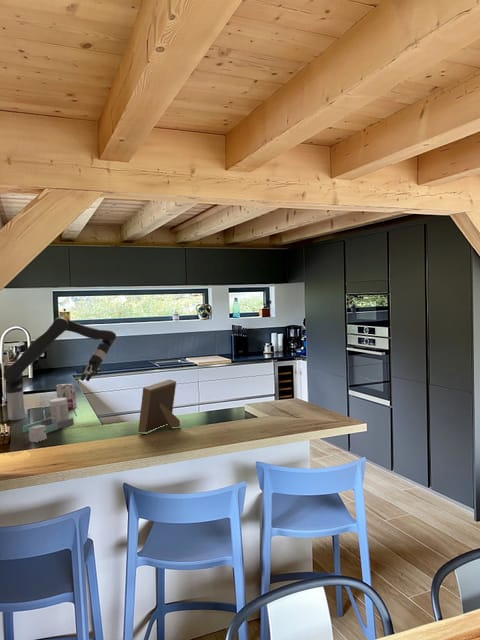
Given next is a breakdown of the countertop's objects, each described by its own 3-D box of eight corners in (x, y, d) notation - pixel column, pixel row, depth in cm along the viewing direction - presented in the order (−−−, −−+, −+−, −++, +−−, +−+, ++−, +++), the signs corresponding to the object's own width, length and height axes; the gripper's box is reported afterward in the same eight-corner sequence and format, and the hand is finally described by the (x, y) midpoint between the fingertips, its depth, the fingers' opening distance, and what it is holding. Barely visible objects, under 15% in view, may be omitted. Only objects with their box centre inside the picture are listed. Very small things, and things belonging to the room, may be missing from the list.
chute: (23, 432, 266) (22, 426, 265) (56, 421, 285) (55, 415, 284) (40, 434, 258) (40, 428, 258) (73, 423, 277) (73, 417, 276)
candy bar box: (77, 407, 320) (74, 383, 319) (73, 409, 315) (71, 384, 314) (61, 407, 322) (59, 383, 321) (57, 409, 317) (55, 385, 316)
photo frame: (138, 434, 245) (134, 386, 244) (164, 423, 264) (161, 378, 263) (160, 437, 238) (157, 388, 236) (186, 425, 257) (183, 380, 255)
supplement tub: (69, 421, 284) (67, 396, 283) (69, 424, 275) (67, 399, 274) (52, 423, 281) (49, 399, 280) (51, 427, 272) (49, 402, 271)
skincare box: (37, 442, 244) (35, 428, 243) (29, 441, 247) (28, 427, 246) (47, 439, 249) (45, 425, 249) (39, 438, 252) (38, 424, 252)
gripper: (86, 354, 305) (72, 376, 295) (102, 354, 297) (88, 377, 288) (93, 361, 310) (80, 383, 300) (109, 361, 302) (96, 384, 293)
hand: (84, 380), depth 294 cm, fingers open, 4 cm apart
